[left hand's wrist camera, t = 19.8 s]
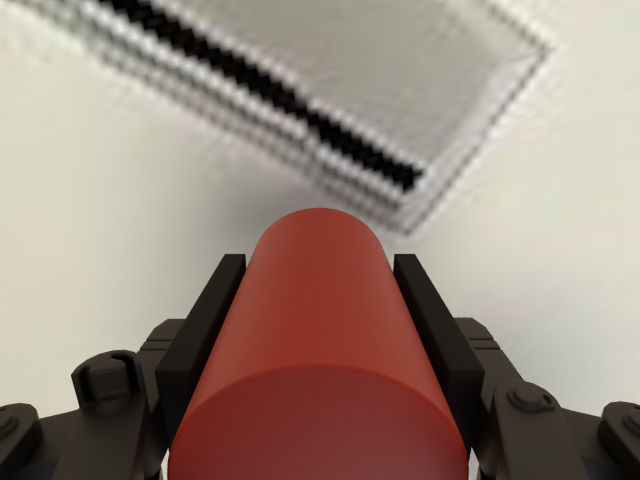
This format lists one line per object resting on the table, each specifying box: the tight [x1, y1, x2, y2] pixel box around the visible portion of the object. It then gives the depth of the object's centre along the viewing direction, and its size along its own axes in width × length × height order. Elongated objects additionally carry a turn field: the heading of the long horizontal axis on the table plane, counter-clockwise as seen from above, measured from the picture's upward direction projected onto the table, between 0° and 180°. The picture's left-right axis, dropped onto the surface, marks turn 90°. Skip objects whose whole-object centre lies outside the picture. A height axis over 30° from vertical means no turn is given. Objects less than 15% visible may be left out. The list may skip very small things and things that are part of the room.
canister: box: [167, 208, 469, 480], centre depth 11 cm, size 6×6×9 cm
